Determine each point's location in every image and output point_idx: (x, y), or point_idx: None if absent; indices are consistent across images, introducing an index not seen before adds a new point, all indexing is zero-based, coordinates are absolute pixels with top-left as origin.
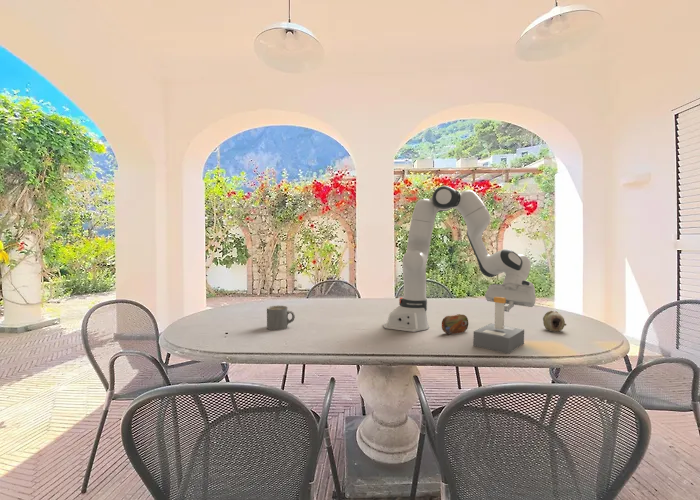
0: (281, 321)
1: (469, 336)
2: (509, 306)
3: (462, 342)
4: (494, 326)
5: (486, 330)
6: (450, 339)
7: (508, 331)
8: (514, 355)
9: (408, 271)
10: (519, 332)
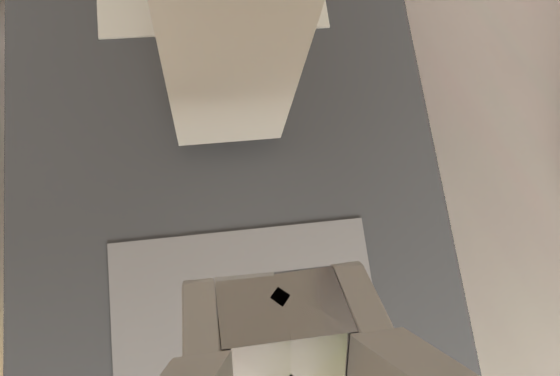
0: None
1: (528, 200)
2: (169, 368)
3: (448, 5)
4: (354, 244)
5: None
6: (552, 5)
7: (122, 160)
8: (4, 4)
9: None
10: (6, 241)
